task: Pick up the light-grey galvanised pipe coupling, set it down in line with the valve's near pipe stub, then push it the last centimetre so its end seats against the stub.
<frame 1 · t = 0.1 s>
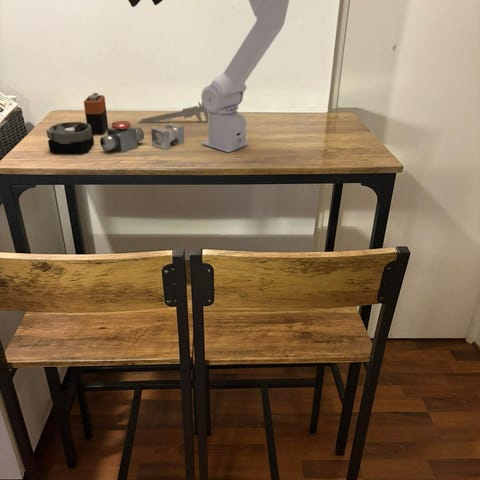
hand: (142, 2, 127), 32 cm above the table, fingers open, 7 cm apart
valve: (123, 147, 124), on the table
coupling: (168, 144, 127), on the table
caliper: (173, 123, 145), on the table
battery: (98, 131, 136), on the table
cpu cooler: (73, 149, 124), on the table
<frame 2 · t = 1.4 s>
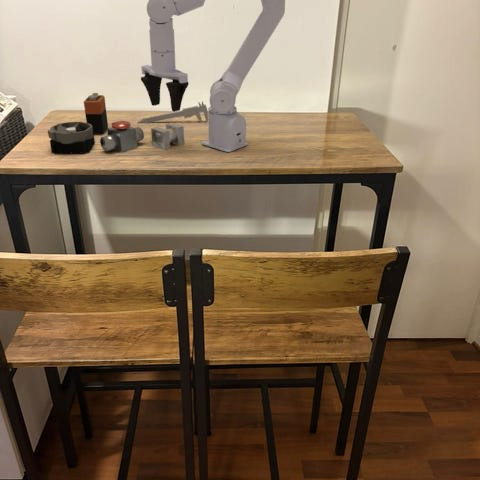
hand: (165, 107, 123), 10 cm above the table, fingers open, 7 cm apart
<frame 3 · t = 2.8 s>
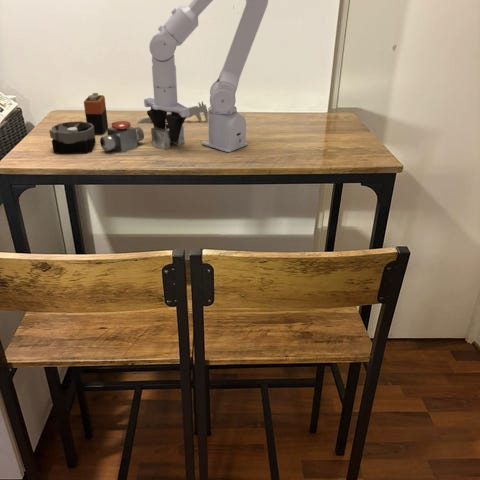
hand: (168, 139, 127), 1 cm above the table, fingers closed on coupling, 4 cm apart
coupling: (168, 144, 127), on the table, touching gripper
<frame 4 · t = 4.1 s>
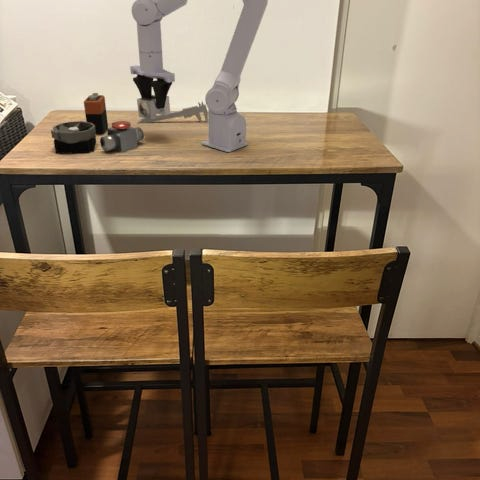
hand: (154, 106, 127), 8 cm above the table, fingers closed on coupling, 5 cm apart
coupling: (154, 115, 128), point 6 cm above the table, touching gripper
when the fingers open (3 cm above the table, at t = 5.7 s): coupling stays where it is, on the table.
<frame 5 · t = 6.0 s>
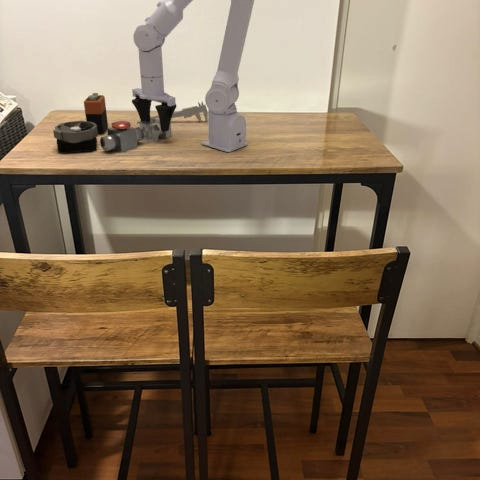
hand: (155, 128, 131), 3 cm above the table, fingers open, 7 cm apart
coupling: (156, 138, 132), on the table
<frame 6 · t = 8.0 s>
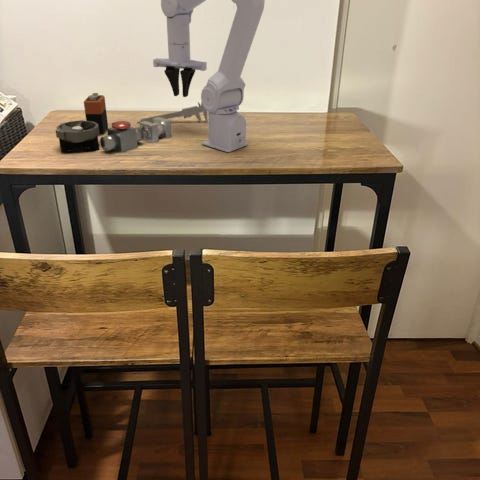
hand: (181, 95, 134), 9 cm above the table, fingers closed
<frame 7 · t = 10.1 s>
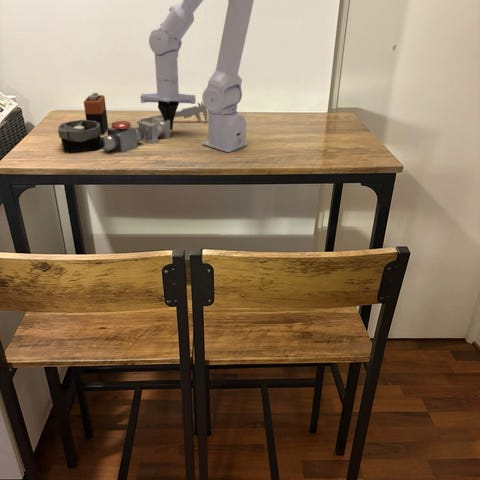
hand: (169, 129, 135), 1 cm above the table, fingers closed
coupling: (155, 138, 131), on the table, touching gripper
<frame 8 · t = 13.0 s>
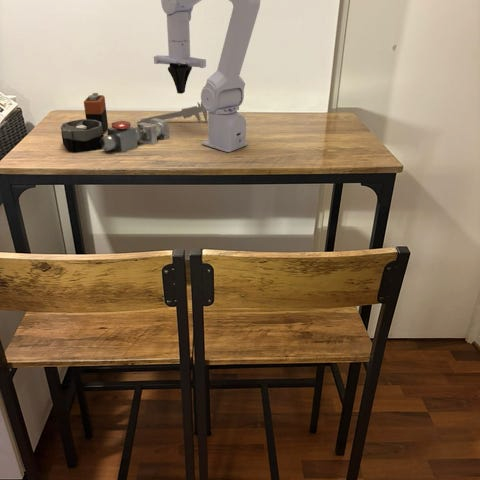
hand: (181, 92, 135), 10 cm above the table, fingers closed
coupling: (154, 139, 131), on the table
at the end: coupling 0.8 cm from the target spot on the table beside the valve, on the table; coupling tilted 0°; the gripper is holding nothing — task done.
